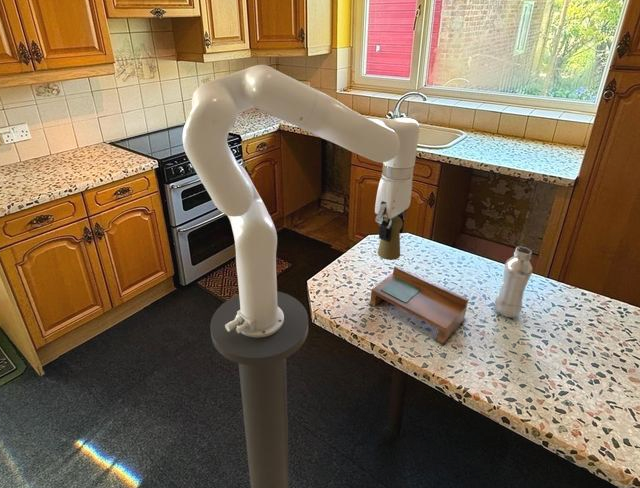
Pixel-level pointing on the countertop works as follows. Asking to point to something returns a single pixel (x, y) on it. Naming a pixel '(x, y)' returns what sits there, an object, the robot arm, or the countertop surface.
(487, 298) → the countertop surface
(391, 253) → the cork
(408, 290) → the wooden shelf
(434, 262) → the countertop surface
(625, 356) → the countertop surface
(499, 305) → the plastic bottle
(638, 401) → the countertop surface
